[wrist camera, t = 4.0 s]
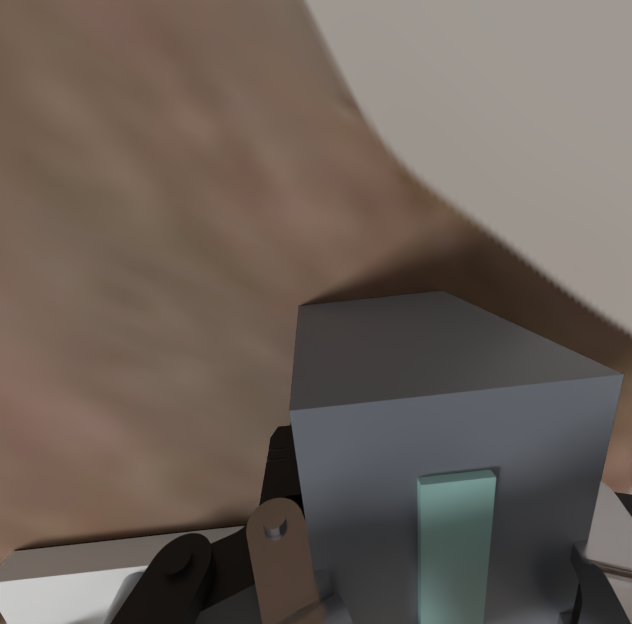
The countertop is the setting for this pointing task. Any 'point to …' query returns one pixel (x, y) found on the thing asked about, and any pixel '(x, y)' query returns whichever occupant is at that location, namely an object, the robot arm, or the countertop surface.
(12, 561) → the pegged holder plate
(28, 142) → the countertop surface
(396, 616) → the block
